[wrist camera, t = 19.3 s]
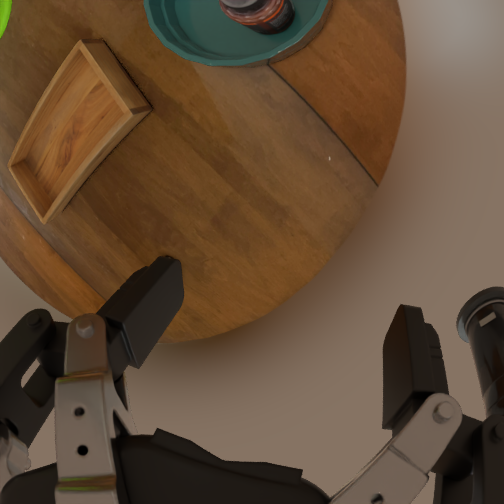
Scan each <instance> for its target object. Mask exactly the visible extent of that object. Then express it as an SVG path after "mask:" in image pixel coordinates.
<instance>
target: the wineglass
mask: <svg viewBox="0 0 504 504" xmlns="http://www.w3.org/2000/svg"><path fill="white" fill-rule="evenodd" d="M11 5H12V0H0V39H1V37H2V35H3V33H4V31H5V28H6V26H7V23H8V20H9V16H10V12H11Z"/></svg>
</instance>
